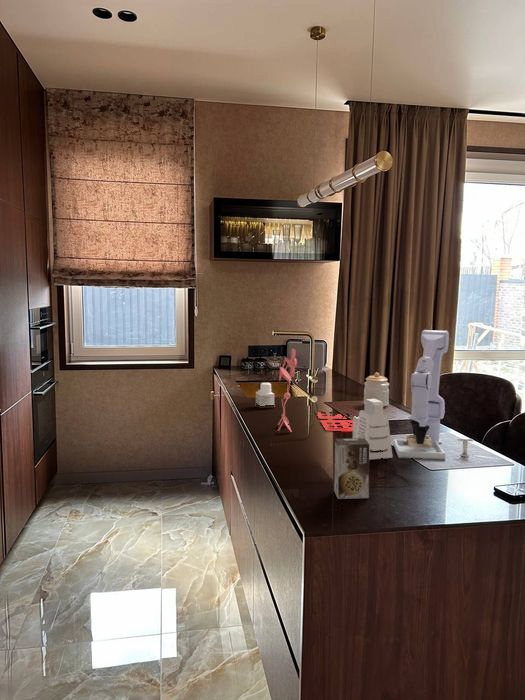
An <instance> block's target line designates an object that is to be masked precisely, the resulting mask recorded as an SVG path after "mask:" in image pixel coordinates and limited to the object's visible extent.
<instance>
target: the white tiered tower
mask: <svg viewBox="0 0 525 700" xmlns="http://www.w3.org/2000/svg"><path fill="white" fill-rule="evenodd" d="M363 405H364V404H363ZM363 407H364V410H363V409H362V410H359V413H358V414H359V418H358V424H357V430H356V436H355V438H365V439H366V440H367V442H368V443H369V461H370V460H381V458H383V459H391V458H393V451H392V450H393V449H392V439H391V432H390V431H391V430H390V424H389V414H388V413H387V412H385V411H384V408H383V403H382V401H379V400H377V399H366V400H365V405H364V406H363ZM360 420H361V421H362V423H361V422H360ZM363 421H364V422H365V423H363ZM359 431H360V432H359ZM361 431H362V432H363V433H362V432H361ZM365 431H366V432H365ZM380 450H381V451H380ZM375 451H376V452H375ZM377 451H379V452H377ZM382 451H383V452H382Z"/></svg>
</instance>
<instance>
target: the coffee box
mask: <svg viewBox="0 0 525 700" xmlns="http://www.w3.org/2000/svg"><path fill="white" fill-rule="evenodd" d="M333 487H334V493H335V496H336V498H337V499H338V500H347V499H349V500H351V499H353V500H354V499H369V498H370V491H369V490H370V460H369V443H368V442H367V440H366V439H365V438H353V437H352V438H349V437H346V438H344V437H343V438H335V439H334V486H333Z"/></svg>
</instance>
